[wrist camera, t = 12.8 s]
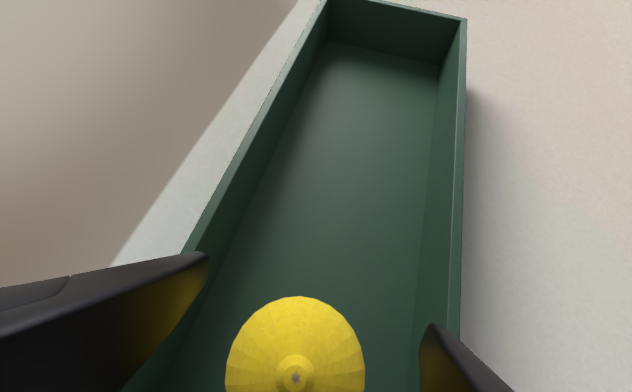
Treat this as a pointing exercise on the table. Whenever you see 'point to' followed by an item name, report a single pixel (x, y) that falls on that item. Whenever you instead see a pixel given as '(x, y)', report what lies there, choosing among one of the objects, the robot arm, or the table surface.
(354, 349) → the lemon
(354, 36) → the green rectangular tray
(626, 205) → the table surface
